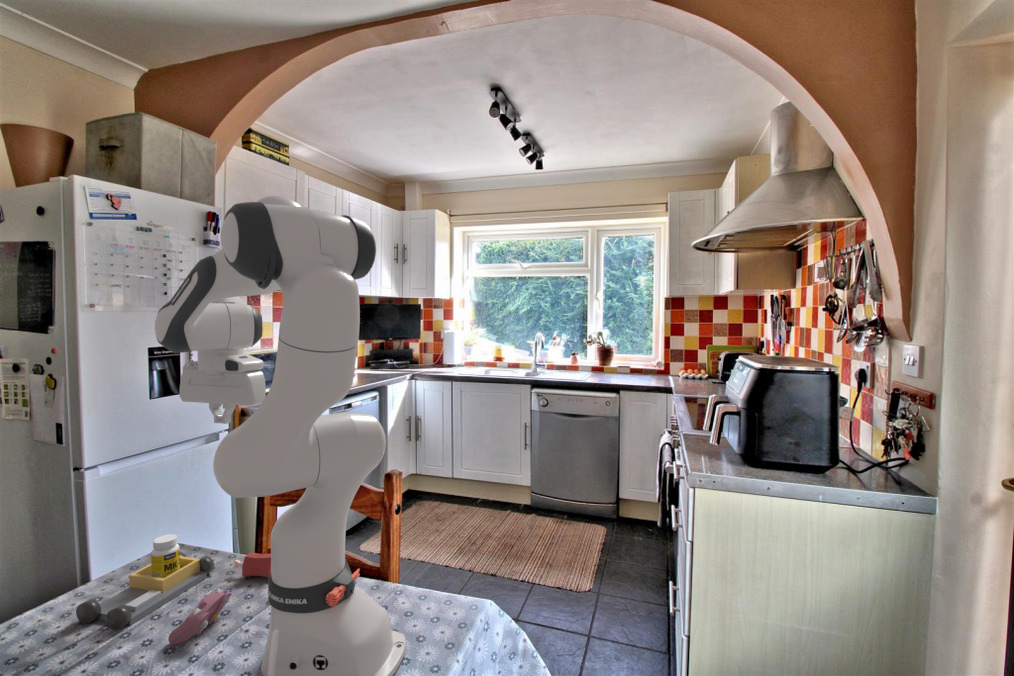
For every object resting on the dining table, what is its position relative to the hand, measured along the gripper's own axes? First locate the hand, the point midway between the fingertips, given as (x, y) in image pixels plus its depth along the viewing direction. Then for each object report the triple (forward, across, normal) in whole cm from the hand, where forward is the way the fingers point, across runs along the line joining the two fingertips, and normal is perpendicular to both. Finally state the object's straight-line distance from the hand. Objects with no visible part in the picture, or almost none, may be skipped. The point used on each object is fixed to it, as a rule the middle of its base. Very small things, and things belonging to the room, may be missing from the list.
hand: (222, 423), depth 106 cm
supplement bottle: (+30, -3, -12) cm, 32 cm away
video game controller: (+31, +16, -21) cm, 41 cm away
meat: (+31, +13, -4) cm, 34 cm away
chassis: (+31, -2, -16) cm, 35 cm away
